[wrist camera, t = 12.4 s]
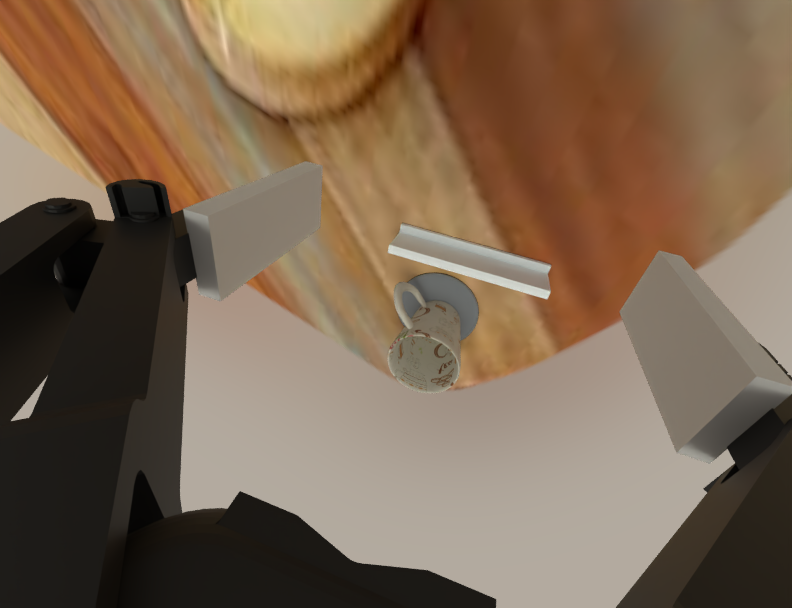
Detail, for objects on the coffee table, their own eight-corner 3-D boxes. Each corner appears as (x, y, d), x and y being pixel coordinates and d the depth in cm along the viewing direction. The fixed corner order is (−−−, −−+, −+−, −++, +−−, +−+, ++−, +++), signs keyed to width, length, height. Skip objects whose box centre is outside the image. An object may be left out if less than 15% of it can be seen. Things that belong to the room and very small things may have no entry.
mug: (428, 351, 52) (412, 401, 44) (379, 281, 48) (351, 321, 40) (480, 332, 48) (473, 382, 40) (431, 254, 44) (412, 291, 36)
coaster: (406, 262, 46) (405, 263, 46) (489, 287, 45) (489, 288, 44) (391, 329, 52) (390, 330, 52) (465, 353, 51) (464, 354, 50)
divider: (402, 222, 44) (390, 236, 40) (550, 264, 41) (554, 283, 37) (397, 245, 45) (386, 260, 41) (540, 286, 43) (543, 307, 39)
